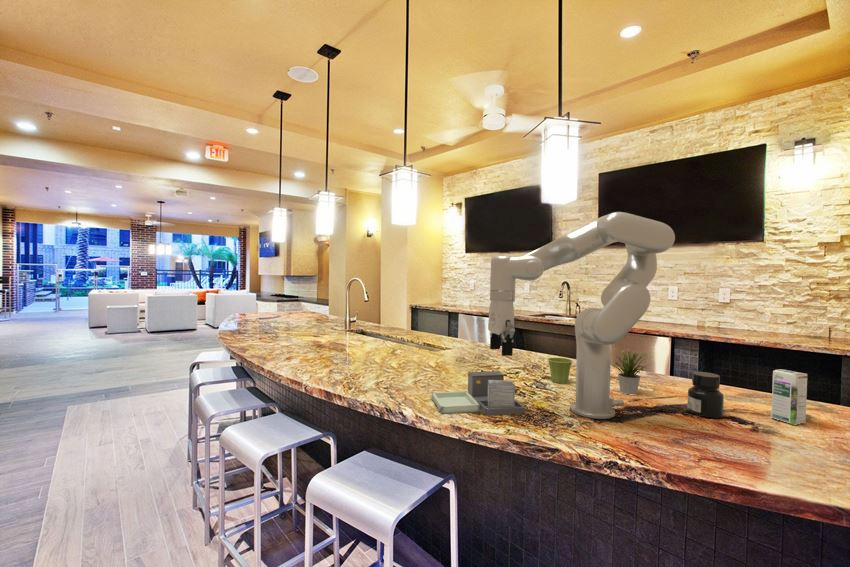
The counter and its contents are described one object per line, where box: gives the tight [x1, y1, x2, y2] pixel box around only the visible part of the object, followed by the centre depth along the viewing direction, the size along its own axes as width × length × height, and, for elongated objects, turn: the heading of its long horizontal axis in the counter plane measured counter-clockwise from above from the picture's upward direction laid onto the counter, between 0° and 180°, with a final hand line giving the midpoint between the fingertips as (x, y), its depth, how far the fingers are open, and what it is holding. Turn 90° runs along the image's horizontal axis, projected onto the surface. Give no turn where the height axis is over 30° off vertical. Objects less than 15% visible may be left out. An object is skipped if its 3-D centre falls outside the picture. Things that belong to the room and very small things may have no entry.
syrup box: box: [770, 368, 808, 426], centre depth 112 cm, size 6×6×14 cm
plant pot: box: [547, 357, 573, 384], centre depth 151 cm, size 9×9×9 cm
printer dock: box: [467, 370, 526, 417], centre depth 124 cm, size 13×21×8 cm, turn 10°
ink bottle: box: [686, 371, 725, 419], centre depth 118 cm, size 10×9×12 cm
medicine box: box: [487, 379, 516, 409], centre depth 118 cm, size 8×4×9 cm, turn 84°
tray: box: [431, 390, 481, 415], centre depth 122 cm, size 12×14×2 cm
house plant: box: [612, 347, 653, 395], centre depth 137 cm, size 14×14×16 cm
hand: (500, 352), depth 118 cm, fingers open, 9 cm apart
